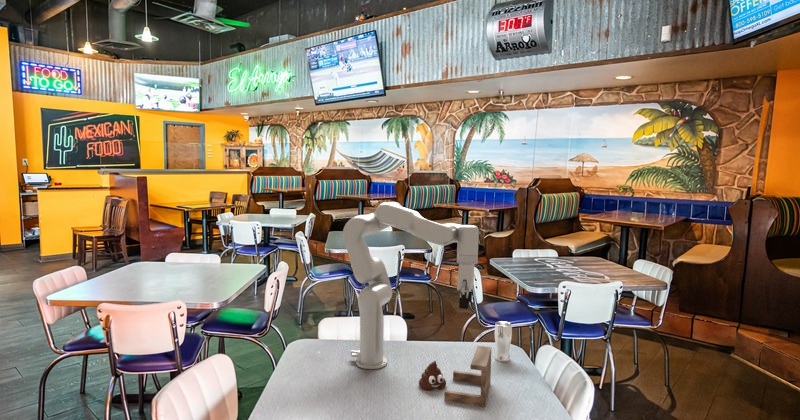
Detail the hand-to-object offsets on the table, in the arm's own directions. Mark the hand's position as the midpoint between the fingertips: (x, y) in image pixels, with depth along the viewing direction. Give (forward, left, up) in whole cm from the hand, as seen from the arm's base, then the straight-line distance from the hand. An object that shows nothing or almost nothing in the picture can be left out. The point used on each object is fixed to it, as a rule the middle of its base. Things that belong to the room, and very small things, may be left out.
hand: (465, 305), depth 163 cm
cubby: (+2, -9, -28) cm, 30 cm away
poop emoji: (-10, -9, -29) cm, 32 cm away
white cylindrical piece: (+12, +25, -29) cm, 40 cm away
